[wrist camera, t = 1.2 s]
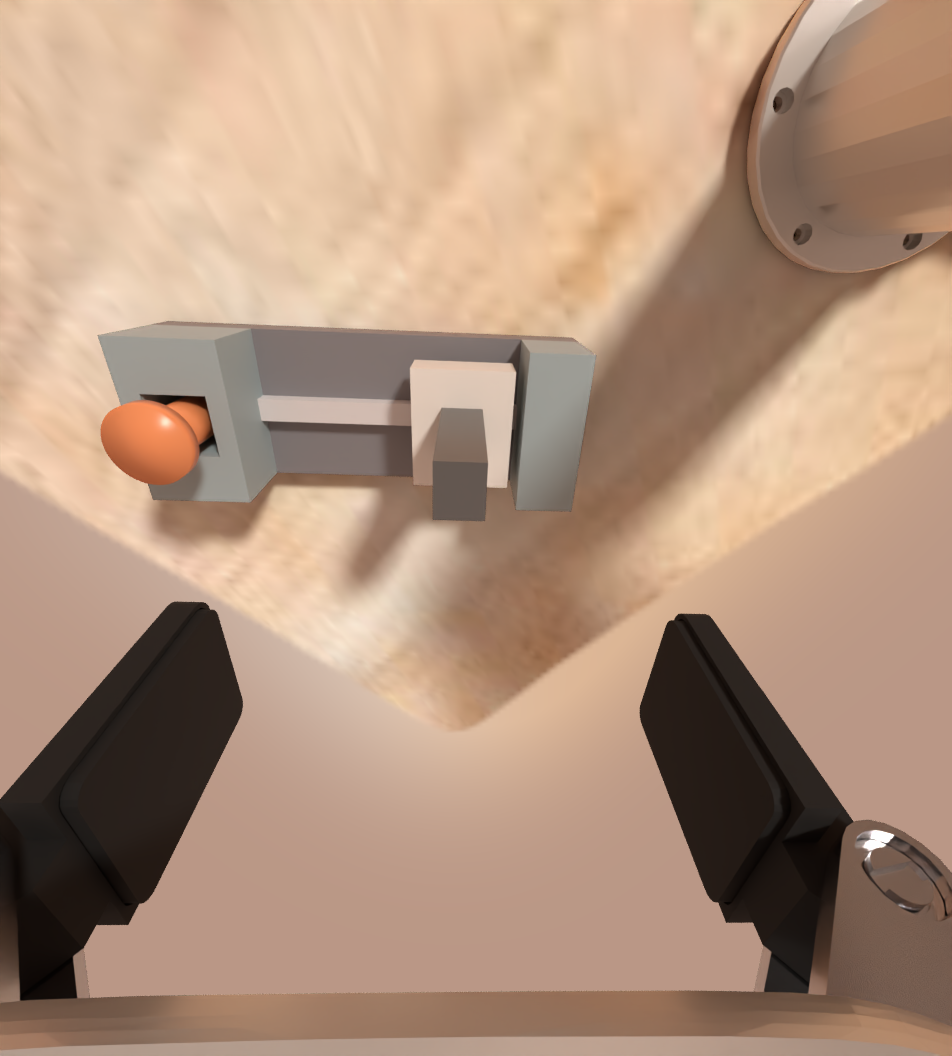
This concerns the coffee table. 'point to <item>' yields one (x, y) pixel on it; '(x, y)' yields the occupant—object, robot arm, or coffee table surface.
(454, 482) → the carriage
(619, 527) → the coffee table surface
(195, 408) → the button
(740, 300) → the coffee table surface
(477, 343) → the rail board
